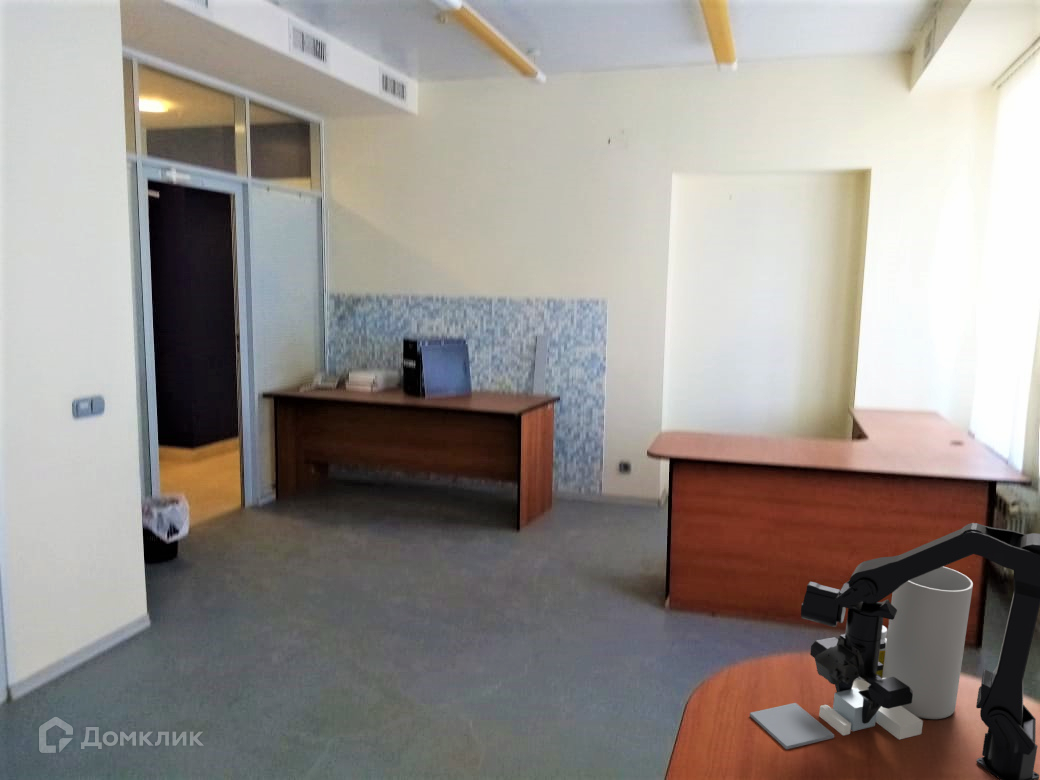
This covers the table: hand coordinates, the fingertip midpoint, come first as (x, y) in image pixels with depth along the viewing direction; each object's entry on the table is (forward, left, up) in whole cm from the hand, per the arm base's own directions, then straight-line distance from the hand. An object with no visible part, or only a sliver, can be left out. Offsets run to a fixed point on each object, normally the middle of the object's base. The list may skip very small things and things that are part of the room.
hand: (854, 714), depth 140 cm
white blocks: (0, -2, -1) cm, 2 cm away
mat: (+2, +12, -1) cm, 12 cm away
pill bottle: (+10, -13, -1) cm, 16 cm away
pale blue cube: (0, 0, -1) cm, 1 cm away
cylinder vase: (+1, -16, -1) cm, 16 cm away
